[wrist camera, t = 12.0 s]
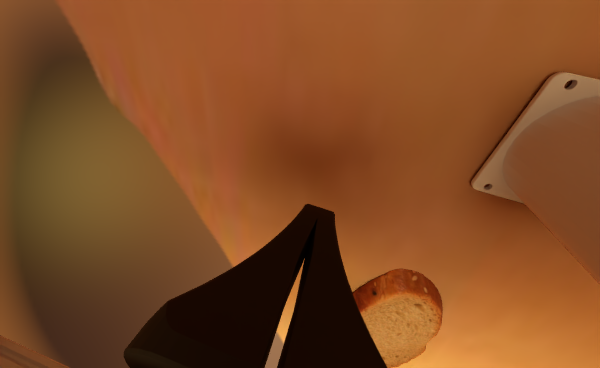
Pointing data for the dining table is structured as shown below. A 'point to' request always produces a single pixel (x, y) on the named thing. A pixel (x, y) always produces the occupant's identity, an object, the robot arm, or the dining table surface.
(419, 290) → the slice of bread
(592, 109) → the robot arm
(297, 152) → the dining table surface
